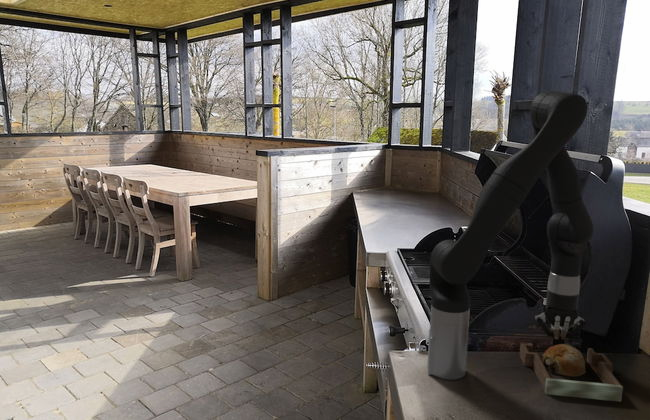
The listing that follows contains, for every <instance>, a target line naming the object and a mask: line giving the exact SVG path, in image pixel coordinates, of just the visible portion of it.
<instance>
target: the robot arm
mask: <svg viewBox="0 0 650 420" xmlns="http://www.w3.org/2000/svg"><path fill="white" fill-rule="evenodd" d="M587 102H588V101H587V100H586V99H585V98H584V97H583V96H582V95H580V94H577V93H571V92H566V91H564V92H563V91H557V90H553V91H552V90H546V91H543V92H541V93H539V94H538V95H536V96H535V98H534V99H533V100H532V102H531V105H530V107H529V116H530V121H531V126H532V129H533V131H534V135H535V137H534V138H533V139H532V140H531V141H530V142H529V143H528V144H527V145H526V146H525V147H523V148H521V150H519V151H517V152H516V153H514V154H513V155H512V156H510V157H508V158H507V159H506V160H504V161H503V162H502V163H500V164H499V165H498V166H497V167H496V168H495V170H494V171H493V172H492V174H491V176H490V177H489V178H488V180H486V182H485V184H484V185H483V187H482V189H480V190H481V191H480V193H479V195H478V197H477V200H476V204H475V206H474V207H475V208H474V211H473V214H472V217H471V220H470V221H469V224H468V225H467V227H466V229H465V230H464V231H463V232H462V234H461V235H460V236H459V238H458V239H457V240H454V239H445V240H442V241H440V242H439V243H437V244H436V245H435V247H434V248H433V250H432V252H431V255H430V264H429V293H430V297H431V304H430V305H431V306H430V320H429V321H430V322H429V331H428V345H427V346H428V347H427V348H428V349H427V350H428V351H427V354H428V355H427V374H428V375H430V376H435V377H436V378H438V379H439V378H440V379H443V380H450V381H451V380H460V379H462V378H464V377H465V375H466V369H467V355H468V354H467V353H468V341H469V324H470V311H471V296H470V293H469V291H468V287H467V286H468V285H467V283H468V282H469V281H470V280H472V278H473V277H474V276H475V275H476V274H477V273H478V271H479V268H480V267H481V266H482V263H483V262H484V260H485V258H486V257H487V254H488V252H489V251H490V249H491V247H492V246H493V244H494V243H495V241H496V239H497V238H498V236H499V235H500V234H501V232H502V231H503V230H504V228H505V226H507V224H508V222H509V221H510V219H511V218H512V217H513V216H514V214H515V212H516V211H517V210H518V209H519V207H520V206H521V205H522V203H523V202H524V201H525V199H526V198H527V196H528V194H529V193H531V192H530V191H531V190H532V188H533V187H534V185H535V184H536V182H537V181H538V180H539V179H540V178H541V176H542V175H543V173H544V172H545V171H546V175H547V180H548V188H549V198H550V203H551V206H552V208H553V210H555V211H558V212H557V213H554V214H552V216H551V217H550V218H549V220H548V221H547V224H546V232H547V238H548V242H549V248H550V255H551V262H550V270H549V276H548V282H547V286H546V287H547V291H546V299H545V301H546V302H545V307H544V309H543V312H541V313H540V314H535V315H534V318H535V320H536V322H537V323H538V324H539V326H540V327H541V329H542V330H543V331H544V332H545V334H546V335H547V337H551V340H550V341H551V342H550V347H552V346H554V345H559V344H565V340H566V339H567V338H569V339H572V338H573V337H575V336H576V335H577V334H578V333H579V332H580V331H581V330H582V329H583V328H584V327H586V325H587V322H586V321H585V319H584V318H583V317H580V316H579V315H580V314H579V311H578V306H579V299H580V298H579V297H580V289H581V270H582V261H583V260H582V255H581V254H580V253H579V252H578V251H575V250H574V249H572V248H570V247H569V246H568V244H567V243H571V244H575V245H584V244H587V243H588V242H590V241H591V239H592V237H593V234H594V224H593V220H592V218H591V215H590V214H589V211H588V209H587V207H586V204H585V203H584V201H583V195H582V194H583V193H582V184H581V178H580V175H579V172H578V169H577V167H576V165H575V164H574V161H573V160H572V158H571V156H570V154H569V151H568V149H567V147H566V144H568V143H569V141H570V140H571V139H572V138H573V137H574V136H575V135H576V133H577V132H578V131H579V129H580V128H581V127H582V126H583V123H584V121H585V120H586V117H587V115H588V103H587ZM546 319H547V320H548V322H549V323H550V326H551V329H549V327H548V326H547V324H546Z"/></svg>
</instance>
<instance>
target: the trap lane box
mask: <svg viewBox="0 0 650 420" xmlns="http://www.w3.org/2000/svg"><path fill="white" fill-rule="evenodd" d="M519 345H520V346H519V357H520V360H521V363H522V364H523V366H524V367H529V368H530V367H532V368H533V371H534V373H535V375H536V376H537V378H538V381H539V383H540V385H541V388H542V389H543V391H544V393H545V395H549V396H560V397H571V398H579V399H580V398H581V399H588V400H590V399H591V400H600V401H609V402H621V403H622V397H623V391H624V386H623V385H621V383H620V382H619V381H618V379H617V378H616V377H615V376H614V374H613V369H614V364H613V363H612V362H611V360H610V359H609V358H608V356H606V354H605V353H602V352H601V353H600V352H595V351H594V349H593V348H589V347H588V348H587V353H586V354H587V355H586V362H587V363H588V364H589V366H590V367H591V368H592V370H593V372H594V373H595V374H596V376H597V377H598V378H599V380H600V381H601V382H602V383H601V382H593V381H592V382H591V381H582V380H580V381H579V380H570V379H562V378H561V379H560V378H559V379H558V378H552V377H550V374H549V373H548V370H547V368H545V367H544V365H543V363H542V359H541V358H540V355H539V354H538V353H537V352H533V351H534V344H533V343H530V342H528V343H523V342H522V343H521V342H520V344H519Z"/></svg>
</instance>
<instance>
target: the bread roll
mask: <svg viewBox="0 0 650 420" xmlns="http://www.w3.org/2000/svg"><path fill="white" fill-rule="evenodd" d="M541 356H542V359H541V361H542V363H543V365H544V367H545V369H546V371H549V372H551V373H554V374H556V375H559V376H564V377H566V378H567V377H568V378H569V377H574V378H576V377H581V376H583V375H584V374H585V375H586V372H587V371H586V360H585V359H584V358H585V357H584V356H583V353H581V351H580V350H579V349H578V348H576V347H574V346H572V345H571V344H568V343H567V344H566V343H564V344H559V345H554V346H552V347H551V346H550V347H548V348H547V349H546V350H545V351H544V353H543V354H542V355H541Z"/></svg>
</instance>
